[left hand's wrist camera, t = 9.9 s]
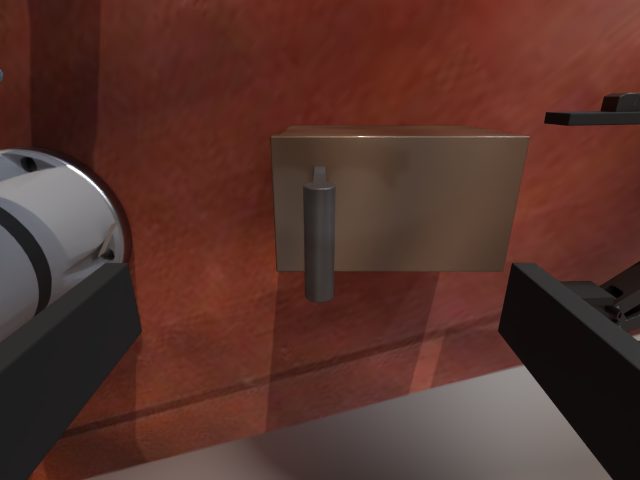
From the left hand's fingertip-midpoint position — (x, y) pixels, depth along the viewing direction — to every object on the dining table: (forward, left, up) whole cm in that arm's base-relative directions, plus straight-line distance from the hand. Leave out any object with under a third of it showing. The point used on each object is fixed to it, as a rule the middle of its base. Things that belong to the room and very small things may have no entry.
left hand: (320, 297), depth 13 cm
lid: (+4, -3, -13) cm, 14 cm away
